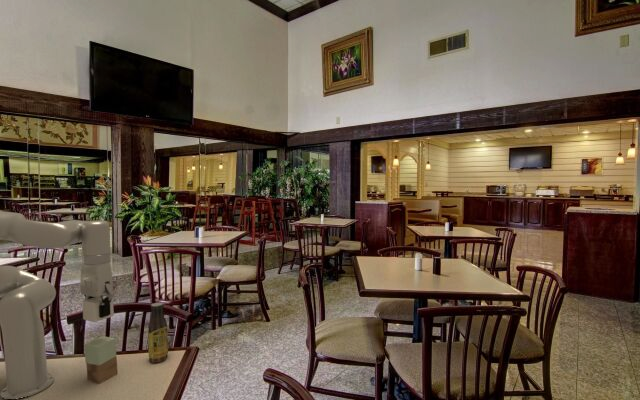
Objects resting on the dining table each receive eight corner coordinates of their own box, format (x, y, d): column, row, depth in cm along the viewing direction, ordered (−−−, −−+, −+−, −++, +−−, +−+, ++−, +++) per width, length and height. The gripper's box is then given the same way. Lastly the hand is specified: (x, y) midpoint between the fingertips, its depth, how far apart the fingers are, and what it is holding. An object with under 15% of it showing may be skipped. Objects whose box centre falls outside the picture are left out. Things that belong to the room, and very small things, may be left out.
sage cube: (85, 362, 108) (84, 344, 107) (103, 353, 113) (101, 336, 113) (99, 365, 106) (98, 346, 105) (116, 356, 111) (115, 338, 111)
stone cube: (83, 319, 107) (82, 300, 107) (102, 312, 113) (101, 295, 112) (94, 322, 105) (94, 303, 104) (113, 315, 110) (113, 297, 110)
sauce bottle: (154, 366, 116) (150, 309, 115) (145, 360, 119) (142, 305, 118) (172, 357, 121) (169, 303, 120) (163, 352, 125) (160, 300, 124)
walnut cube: (87, 379, 109) (86, 361, 108) (106, 370, 114) (104, 353, 114) (99, 384, 106) (97, 365, 106) (117, 374, 111) (116, 356, 111)
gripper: (68, 259, 108) (70, 314, 109) (101, 264, 101) (103, 323, 102) (92, 254, 115) (94, 306, 116) (125, 259, 108) (126, 315, 108)
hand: (98, 314), depth 109 cm, fingers closed on stone cube, 6 cm apart
